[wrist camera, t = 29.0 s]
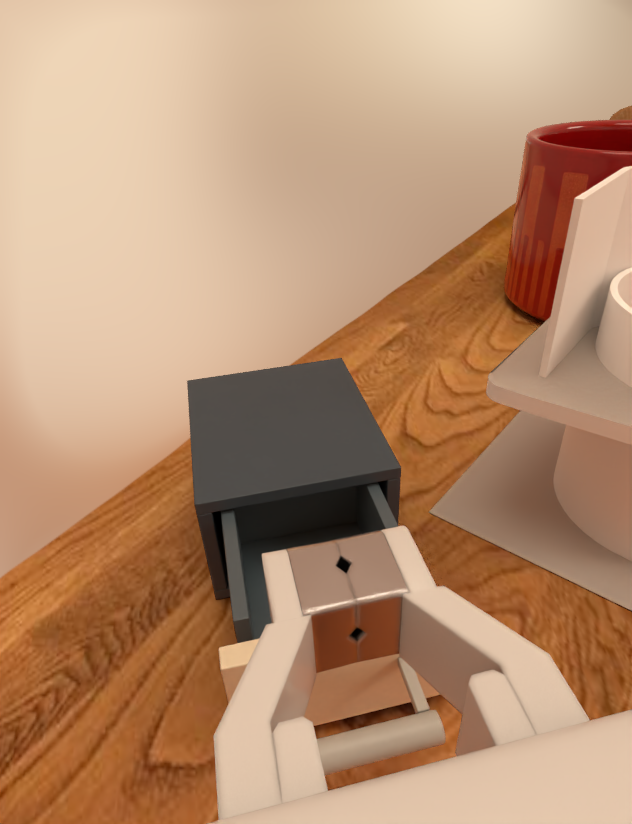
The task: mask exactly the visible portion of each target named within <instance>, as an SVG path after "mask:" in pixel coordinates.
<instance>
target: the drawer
mask: <svg viewBox="0 0 632 824" xmlns="http://www.w3.org/2000/svg"><path fill="white" fill-rule="evenodd" d="M221 519H222V527H223V536H224V545H225V554H226V563H227V572H228V581H229V590H230V598H231V607H232V616H233V623H234V628H235V633H236V638H237V642H238V643H237V644H232V645H228V646H223V647H220V648H219V661H220V671H221V675H222V679H223V683H224V687H225V691H226V695H227V699H228V703H229V702H230V700H231V698H232V696H233V694H234V692H235V690H236V687H237V685H238V683H239V681H240V679H241V677H242V675H243V673H244V671H245V668H246V666H247V664H248V662H249V660H250V658H251V656H252V654H253V652H254V649H255V647H256V645H257V643H258V641H259V639H260V637H261V635H262V632H263V630H264V628H265V626H266V625H267V624H271V623H272V621H271V615H270V609H269V602H268V596H267V589H266V582H265V576H264V569H263V562H262V553H268V552H273V551H279V550H284V549H286V550H287V549H288V548H294V547H300V546H305V545H311V544H317V543H323V542H328V541H334V540H336V539H340V538H345V537H350V536H354V535H359V534H364V533H368V532H373V531H378V530H379V531H381V530H384V529H389V528H394V527H399V526H398V524H397V522H396V520H395V518H394V516H393V514H392V512H391V510H390V507H389V505H388V503H387V501H386V499H385V497H384V495H383V493H382V491H381V488H380V486H379V484H378V482H374V483H369V484H364V485H358V486H353V487H347V488H342V489H336V490H331V491H326V492H320V493H315V494H309V495H304V496H298V497H293V498H288V499H282V500H277V501H271V502H266V503H260V504H255V505H250V506H244V507H239V508H233V509H228V510H222V511H221ZM316 674H317V677H316V680H315V683H314V686H313V690H312V693H311V696H310V699H309V702H308V706H307V709H306V712H305V715H304V717H305V718H306V719H308V720H310V721H312V722H313V726H316V725H320V724H324V723H328V722H332V721H336V720H340V719H344V718H348V717H352V716H356V715H360V714H364V713H369V712H373V711H377V710H381V709H385V708H389V707H393V706H397V705H401V704H405V703H409V702H412V705H413V708H414V711H415V713H416V714H414V715H410V716H406V717H402V718H398V719H394V720H390V721H386V722H382V723H378V724H374V725H370V726H367V727H363V728H359V729H355V730H351V731H347V732H343V733H339V734H335V735H331V736H327V737H323V738H319V739H317V744H318V748H319V753H320V757H321V762H322V766H323V771H324V775H328V774H332V773H336V772H340V771H343V770H347V769H351V768H355V767H359V766H363V765H366V764H370V763H374V762H378V761H382V760H385V759H389V758H393V757H397V756H401V755H404V754H408V753H412V752H416V751H420V750H423V749H427V748H431V747H435V746H439V745H442V744H444V743H445V732H444V727H443V724H442V721H441V718H440V716H439V714H438V713H437V711H436V710H430V711H429V709H430V708H429V706H428V703H427V700H426V698H429V697H433V696H437V695H441V694H440V693H439V692H438V691H437V690H435V689H434V688H433V687H432V686H431V685H430V684H429V683H428V682H427V681H426V680H425V679H424V678H422V677H421V676H420V675H419V674H418V673H417V672H416V671H415V670H414V669H413V668H412V667H411V666H409V665H408V664H407V663H406V662H405V661H404V660H403V659H402V658H401V657H400V656H399V654H395V655H391V656H386V657H381V658H376V659H371V660H366V661H362V662H357V663H353V664H349V665H345V666H342V667H338V668H334V669H330V670H327V671H323V672H319V673H316Z"/></svg>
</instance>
